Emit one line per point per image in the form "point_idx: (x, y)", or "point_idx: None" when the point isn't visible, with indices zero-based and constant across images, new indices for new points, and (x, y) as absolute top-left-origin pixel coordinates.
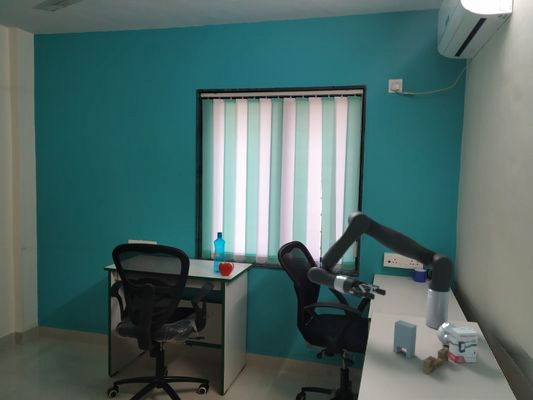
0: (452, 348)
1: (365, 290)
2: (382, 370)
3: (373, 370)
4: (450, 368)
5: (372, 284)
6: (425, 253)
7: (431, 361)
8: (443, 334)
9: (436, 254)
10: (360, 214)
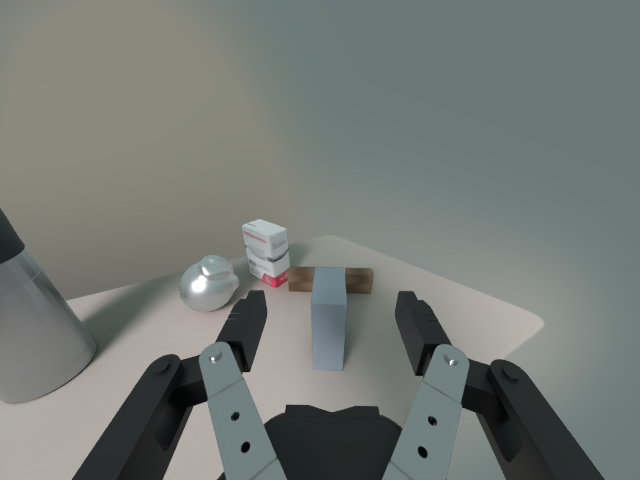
0: (282, 264)
1: (368, 413)
2: None
3: (473, 353)
4: None
5: (87, 465)
6: None
7: (361, 269)
8: (229, 281)
9: None
10: None
